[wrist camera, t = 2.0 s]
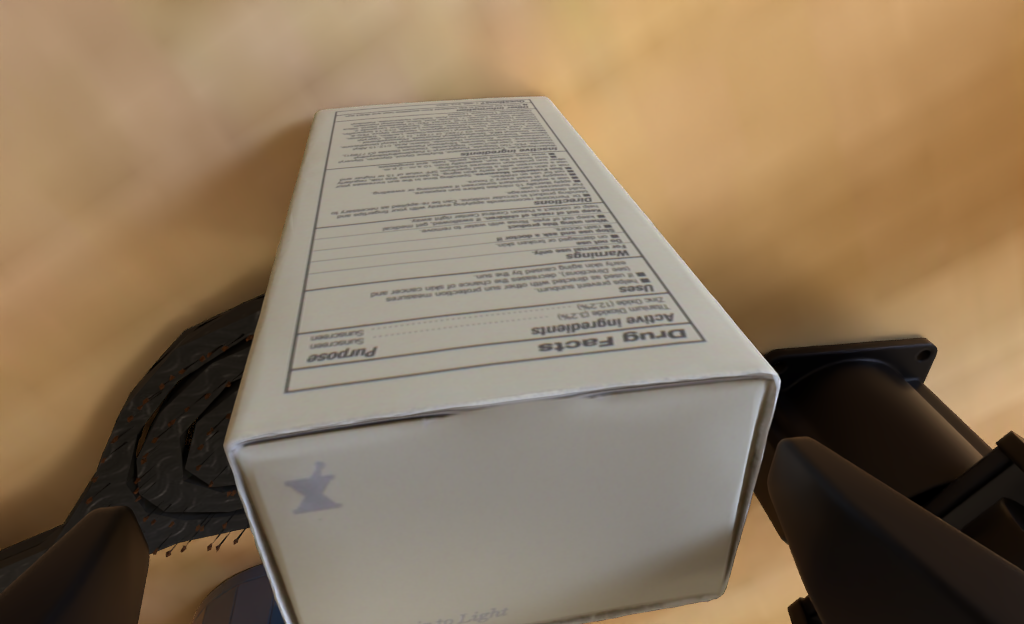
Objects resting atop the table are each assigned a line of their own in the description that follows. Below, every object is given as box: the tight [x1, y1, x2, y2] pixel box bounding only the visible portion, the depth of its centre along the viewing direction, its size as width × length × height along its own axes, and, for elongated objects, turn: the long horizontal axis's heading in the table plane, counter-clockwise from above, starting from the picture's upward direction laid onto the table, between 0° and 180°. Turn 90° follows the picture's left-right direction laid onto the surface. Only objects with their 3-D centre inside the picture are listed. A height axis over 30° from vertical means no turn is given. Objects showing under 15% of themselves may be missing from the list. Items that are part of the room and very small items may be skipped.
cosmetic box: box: [223, 96, 781, 624], centre depth 13 cm, size 6×4×12 cm
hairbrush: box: [0, 293, 266, 594], centre depth 21 cm, size 8×4×25 cm
